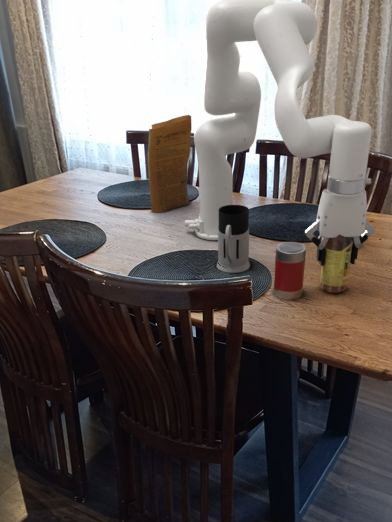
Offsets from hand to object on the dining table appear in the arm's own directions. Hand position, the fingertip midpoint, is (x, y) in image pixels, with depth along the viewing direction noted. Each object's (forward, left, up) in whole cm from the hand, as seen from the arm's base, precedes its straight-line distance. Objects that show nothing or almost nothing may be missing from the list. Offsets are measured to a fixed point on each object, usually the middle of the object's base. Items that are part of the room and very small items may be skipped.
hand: (336, 262), depth 122 cm
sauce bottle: (0, 0, -7) cm, 7 cm away
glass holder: (-23, +13, -7) cm, 27 cm away
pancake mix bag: (-38, +64, -7) cm, 75 cm away
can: (-11, -1, -7) cm, 13 cm away
